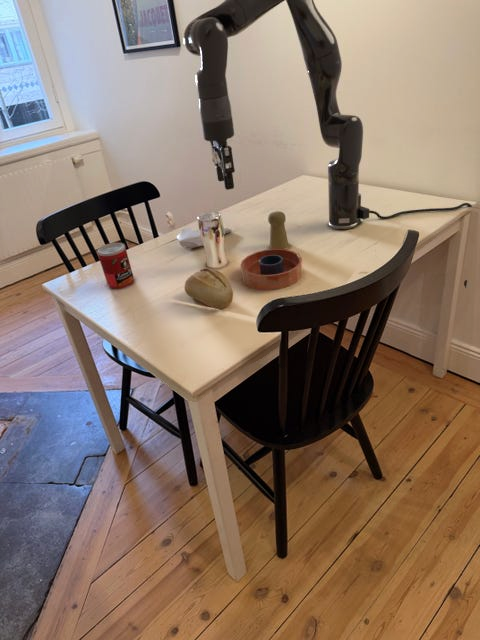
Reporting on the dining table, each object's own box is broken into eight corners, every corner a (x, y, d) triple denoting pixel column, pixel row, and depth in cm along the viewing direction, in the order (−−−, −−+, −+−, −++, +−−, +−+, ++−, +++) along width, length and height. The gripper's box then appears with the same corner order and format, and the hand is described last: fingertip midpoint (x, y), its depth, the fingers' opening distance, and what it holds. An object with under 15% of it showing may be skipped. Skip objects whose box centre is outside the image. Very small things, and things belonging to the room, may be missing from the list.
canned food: (121, 291, 131) (111, 255, 125) (102, 286, 135) (90, 251, 129) (140, 278, 136) (130, 244, 130) (120, 274, 140) (110, 240, 134)
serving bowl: (280, 258, 136) (279, 243, 134) (314, 277, 123) (314, 262, 121) (232, 275, 130) (230, 261, 128) (263, 298, 118) (261, 282, 115)
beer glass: (232, 259, 139) (225, 211, 131) (223, 270, 134) (216, 220, 126) (210, 258, 142) (202, 211, 134) (201, 269, 136) (192, 220, 128)
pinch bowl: (267, 268, 130) (266, 253, 128) (287, 271, 127) (286, 256, 125) (256, 278, 126) (255, 263, 124) (277, 282, 123) (276, 266, 121)
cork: (287, 251, 140) (285, 216, 134) (268, 251, 141) (264, 217, 135) (290, 242, 144) (287, 208, 139) (270, 243, 146) (267, 209, 140)
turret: (236, 239, 158) (235, 225, 155) (191, 252, 145) (190, 237, 143) (215, 233, 164) (215, 220, 162) (170, 246, 151) (169, 232, 149)
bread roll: (204, 285, 128) (199, 258, 123) (244, 299, 118) (240, 271, 114) (178, 300, 122) (171, 273, 118) (217, 317, 113) (212, 288, 108)
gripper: (238, 118, 106) (247, 189, 114) (224, 111, 118) (233, 175, 126) (206, 124, 105) (217, 195, 113) (196, 116, 117) (206, 180, 125)
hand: (225, 184), depth 120 cm, fingers open, 8 cm apart
